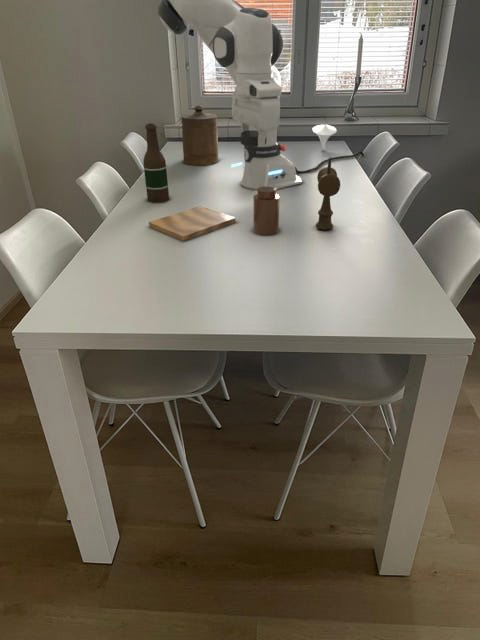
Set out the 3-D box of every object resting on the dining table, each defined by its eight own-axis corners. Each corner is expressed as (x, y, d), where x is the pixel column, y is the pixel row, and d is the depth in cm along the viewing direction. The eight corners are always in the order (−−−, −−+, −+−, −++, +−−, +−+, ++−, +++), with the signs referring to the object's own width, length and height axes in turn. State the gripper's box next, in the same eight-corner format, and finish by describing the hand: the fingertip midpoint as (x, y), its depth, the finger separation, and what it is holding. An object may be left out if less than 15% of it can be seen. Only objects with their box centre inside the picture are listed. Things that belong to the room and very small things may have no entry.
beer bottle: (165, 203, 162) (158, 126, 149) (143, 202, 163) (134, 126, 151) (172, 196, 168) (166, 122, 156) (151, 195, 170) (143, 121, 157)
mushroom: (336, 153, 218) (339, 125, 212) (312, 153, 218) (314, 125, 212) (333, 148, 227) (335, 120, 221) (309, 148, 227) (311, 121, 221)
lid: (270, 145, 127) (271, 135, 126) (247, 147, 125) (247, 138, 123) (259, 138, 132) (259, 129, 131) (236, 141, 130) (236, 131, 128)
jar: (270, 224, 144) (271, 184, 138) (283, 232, 139) (284, 190, 132) (249, 228, 142) (248, 187, 135) (260, 237, 136) (261, 194, 130)
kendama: (314, 234, 137) (319, 161, 127) (313, 222, 146) (317, 152, 135) (335, 234, 137) (342, 161, 126) (333, 222, 145) (339, 153, 135)
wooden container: (225, 159, 212) (223, 104, 200) (205, 167, 201) (202, 109, 189) (197, 155, 218) (194, 102, 207) (176, 162, 208) (172, 106, 196)
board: (200, 210, 156) (200, 205, 155) (235, 222, 146) (235, 217, 145) (149, 226, 144) (148, 222, 143) (184, 241, 134) (183, 236, 133)
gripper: (225, 82, 128) (226, 137, 135) (261, 90, 112) (260, 152, 120) (246, 80, 130) (247, 135, 138) (285, 89, 115) (283, 150, 122)
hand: (253, 143), depth 128 cm, fingers closed on lid, 6 cm apart
